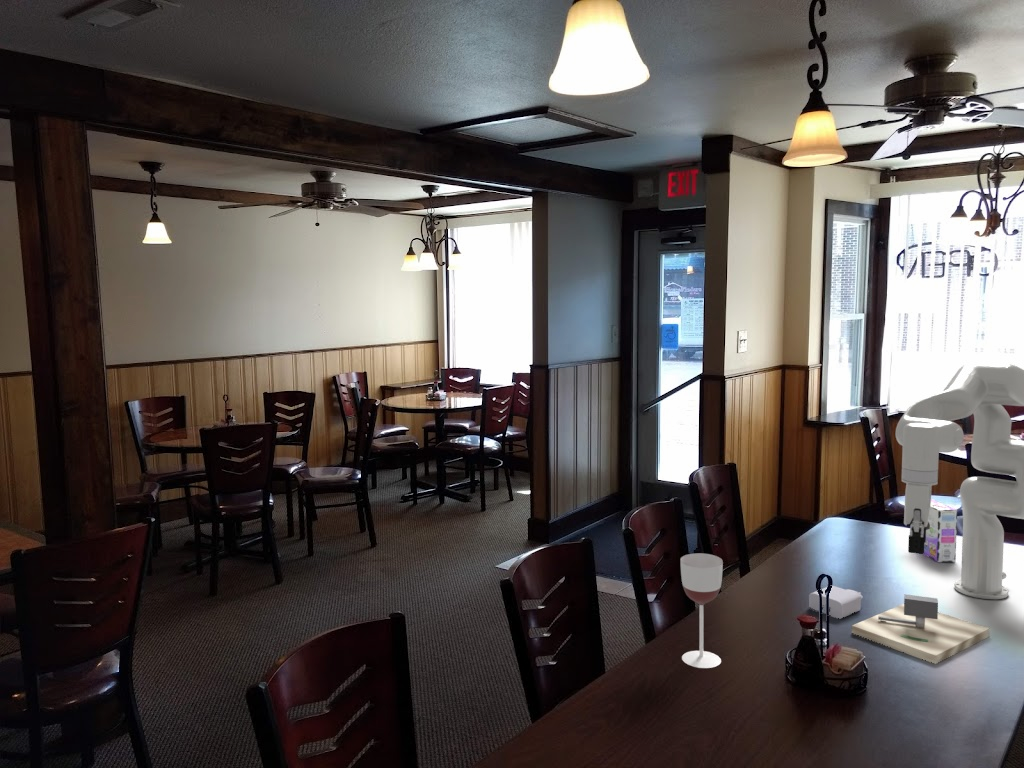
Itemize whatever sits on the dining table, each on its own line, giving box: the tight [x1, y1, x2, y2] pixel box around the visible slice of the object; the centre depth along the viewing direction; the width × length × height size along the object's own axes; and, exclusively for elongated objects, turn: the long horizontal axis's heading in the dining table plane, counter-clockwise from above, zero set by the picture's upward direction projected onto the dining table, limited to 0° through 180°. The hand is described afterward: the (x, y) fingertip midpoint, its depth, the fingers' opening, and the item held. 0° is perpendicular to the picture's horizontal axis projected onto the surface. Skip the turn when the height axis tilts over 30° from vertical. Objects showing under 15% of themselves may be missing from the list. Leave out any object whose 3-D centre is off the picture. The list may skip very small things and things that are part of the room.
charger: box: [808, 585, 864, 620], centre depth 201 cm, size 5×9×15 cm
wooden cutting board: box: [851, 603, 990, 665], centre depth 184 cm, size 24×20×2 cm
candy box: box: [923, 498, 958, 563], centre depth 239 cm, size 14×6×16 cm, turn 179°
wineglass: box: [680, 552, 724, 669], centre depth 173 cm, size 9×10×23 cm
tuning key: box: [878, 593, 939, 628], centre depth 184 cm, size 12×3×7 cm, turn 64°
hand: (917, 547), depth 182 cm, fingers open, 9 cm apart
